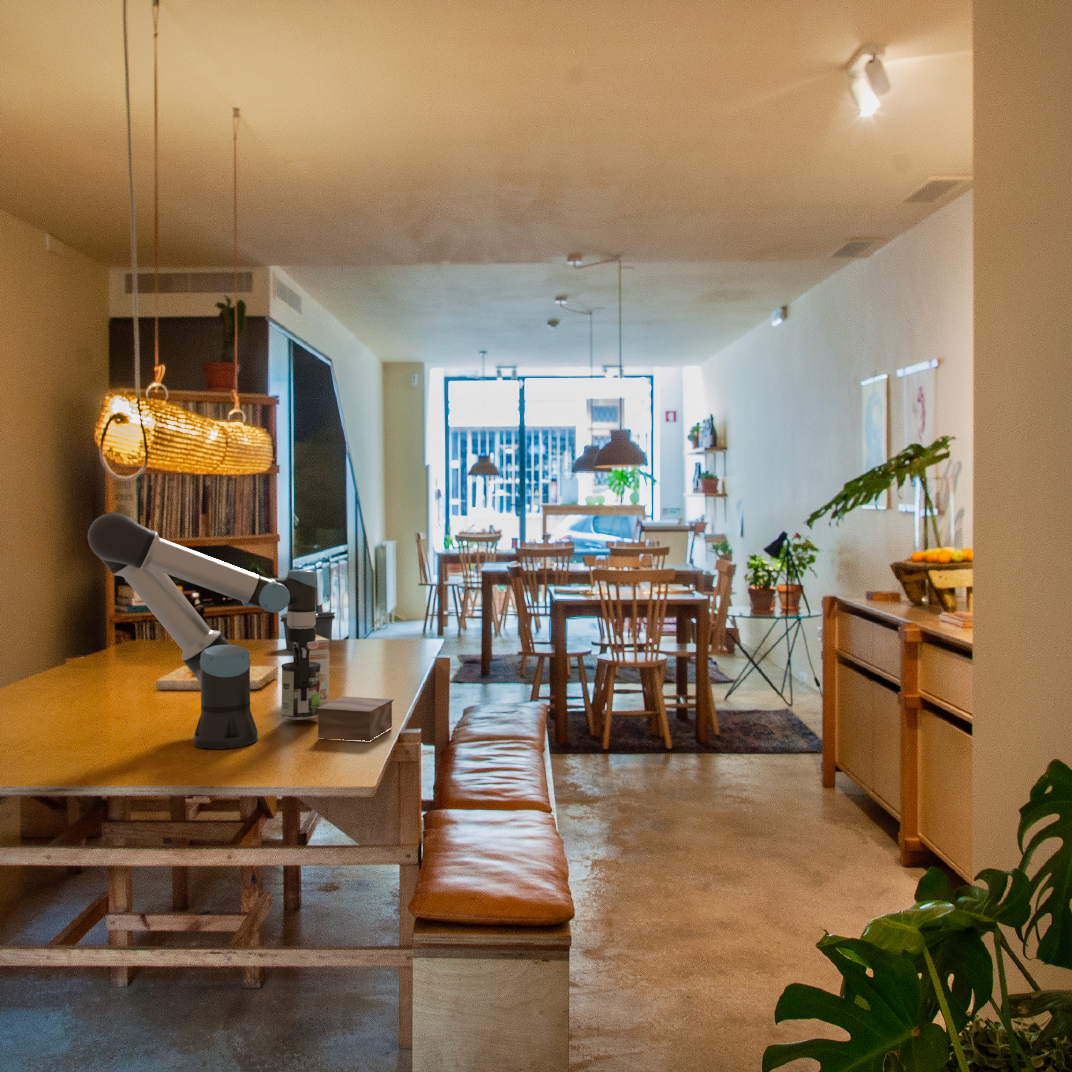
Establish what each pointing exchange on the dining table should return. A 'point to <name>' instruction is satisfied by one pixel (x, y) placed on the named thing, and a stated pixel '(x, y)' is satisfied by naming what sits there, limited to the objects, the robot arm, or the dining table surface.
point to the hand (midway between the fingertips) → (300, 708)
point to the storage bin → (321, 626)
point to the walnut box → (354, 718)
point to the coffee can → (291, 693)
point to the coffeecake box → (321, 655)
